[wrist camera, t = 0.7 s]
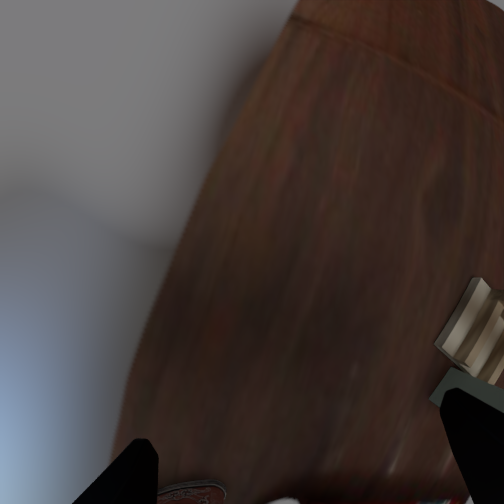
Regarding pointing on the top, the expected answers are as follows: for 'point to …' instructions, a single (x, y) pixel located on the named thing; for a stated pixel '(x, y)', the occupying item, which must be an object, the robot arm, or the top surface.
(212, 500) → the lighter
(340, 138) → the top surface
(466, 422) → the robot arm
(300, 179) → the top surface
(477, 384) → the plank
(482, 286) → the groove base
